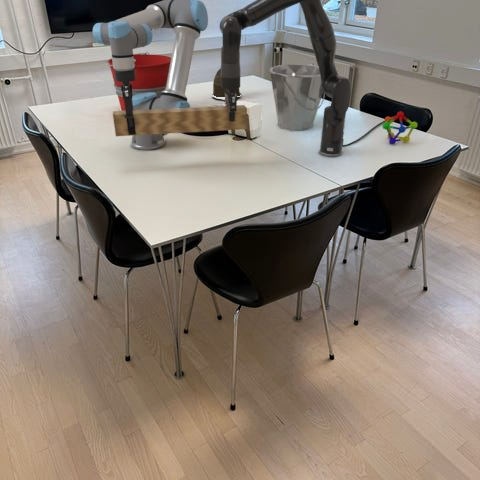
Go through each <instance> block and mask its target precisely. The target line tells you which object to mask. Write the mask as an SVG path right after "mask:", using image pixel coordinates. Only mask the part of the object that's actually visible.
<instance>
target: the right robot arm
mask: <svg viewBox="0 0 480 480" xmlns="http://www.w3.org/2000/svg"><path fill="white" fill-rule="evenodd" d="M298 4H300V5H299V6H300V8H301V9H302V14H303V17H304V22H305V25H306V29H307V32H308V36H309V40H310V45H311V47H312V50H313V53H314V57H315V60H316V64H317V66H318V67H319V71H320V76H321V82H322V87H323V94H324V93H325V96H327V97H328V98H331V101H330V105H328V106H326V107H324V109H323V117H322V129H321V136H320V147H319V154H320V155H321V156H324V157H329V158H330V157H331V158H334V157H339V156H341V154H342V150H343V147H344V148H345V147H348V146H351V145H353V144H355V143H357V142H359V141H360V140H362V139H363V138H364V137H366V136H367V135H368V134H370V133H371V132H373V130H375V129H376V128H377V127H379V126H380V125H383V124H384V123H386V122H385V120H383V121H381V122H379V123H378V124H376V125H375V126H373V127H372V128H371V129H370V130H368V131H367V132H366V133H365V134H363V135H362V136H361V137H359V138H358V139H356V140H353V141H351V142H349V143H347V144H344V134H345V132H344V131H345V130H344V129H345V123H346V116H347V112H348V109H349V107H350V103H351V102H350V101H351V98H352V97H351V96H352V90H353V85H352V82H351V80H350V79H349V78H348V77H346V76H342V75H340V74H339V73H338V70H337V66H336V63H335V57H336V53H337V52H336V51H337V38H336V35H335V31H334V27H333V25H332V22H331V19H330V18H329V16H328V14H327V13H326V11H325V8H324V7H323V5H322V2H321V0H254V1H252V2H250V3H249V4H247V5H245V6H244V7H243V8H240V9H238V10H235V11H233V12H231V13H228V14H227V15H225V16H224V17H222V19H221V20H220V21H219V30H220V33H221V35H222V46H221V50H220V62H221V63H220V69H221V87H222V88H223V89H225V100H224V104H225V106H229V121H230V122H232V121H235V111H236V110H237V109H236V107H237V105H238V104H237V103H238V98H237V96H236V93H235V89H238V88H239V89H240V88H241V51H240V49H241V41H242V31H244V30H245V29H247V28H250V27H254V26H256V25H258V24H261V23H262V22H263V21H265V20H267V19H269V18H271V17H272V16H275V15H276V14H278V13H280V12H282V11H284V10H286V9H288V8H290V7H293V6H295V5H298ZM232 106H234V108H231V107H232Z"/></svg>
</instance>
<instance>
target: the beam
mask: <svg viewBox="0 0 480 480" xmlns="http://www.w3.org/2000/svg"><path fill="white" fill-rule="evenodd" d="M231 108H234V106H232V107H231ZM236 109H237V110H236V111H235V121H232V122H230V121H229V106H226V105H219V106H218V105H216V106H195V107H190V108H171V109H150V110H133V116H134V123H135V131H136V134H134V135H150V134H163V135H167V134H182V133H183V134H184V133H202V132H218V131H220V132H221V131H237V130H247V129H248V128H247V127H248V125H247V124H248V123H247V122H248V108H247V106H246V105H245V104H239V105H238V104H237V107H236ZM125 117H126V111H122V110H114V111H112V118H113V119H112V120H113V124H114V134H115V137H128V136H131V137H132V136H133V135H129V133H128V126H127V118H125Z"/></svg>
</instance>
